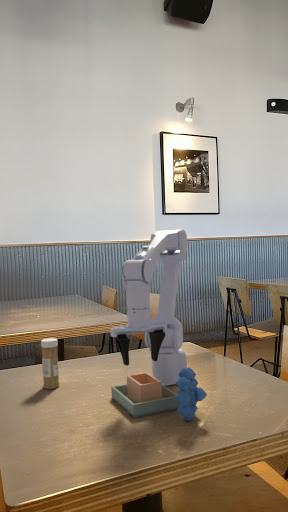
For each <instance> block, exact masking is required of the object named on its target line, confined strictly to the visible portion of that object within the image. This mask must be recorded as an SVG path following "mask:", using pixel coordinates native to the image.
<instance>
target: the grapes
mask: <svg viewBox="0 0 288 512" xmlns="http://www.w3.org/2000/svg"><path fill="white" fill-rule="evenodd" d="M178 375H179V376H180V379H179V380H178V381H177V383H176V384H175V385H176V387H177V388H178V391H177V392H176V394H178V395H177V396H176V400H177V401H178V403H179V404H180V407H179V408H178V409H177V410H176V411H177V412H178V414H179V415H180V416H181V417H182V418H183V419H184V420H185V421H186V422H189V421H192V420H193V419H194V417H195V416H196V412H197V410H198V409H199V407H198V406H197V405H198V404H197V403H198V402H202V401H203V400H204V399H206V397H207V396H208V394H207V393H206V391H205V390H204V388H202V387H198V384H199V382H198V381H197V379H196V376H197V374H196V372H195V371H194V369H192V368H191V367H187V368H183V369H182V370H181V371H180V372H179V374H178Z"/></svg>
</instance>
